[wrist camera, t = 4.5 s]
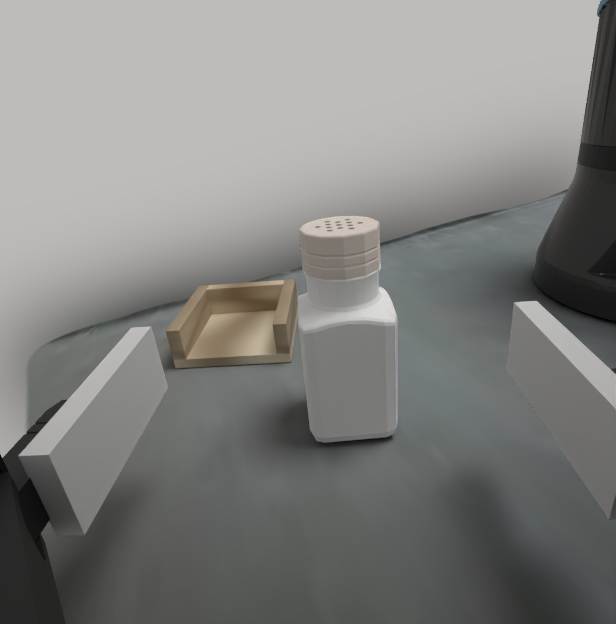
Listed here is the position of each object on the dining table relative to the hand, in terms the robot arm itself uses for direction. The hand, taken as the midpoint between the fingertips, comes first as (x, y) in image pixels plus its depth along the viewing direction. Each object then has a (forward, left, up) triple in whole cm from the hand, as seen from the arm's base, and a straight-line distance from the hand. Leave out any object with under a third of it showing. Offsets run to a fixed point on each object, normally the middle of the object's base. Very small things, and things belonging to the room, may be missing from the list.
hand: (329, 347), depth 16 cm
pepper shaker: (-1, -3, -6) cm, 7 cm away
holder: (+6, -12, -6) cm, 15 cm away
